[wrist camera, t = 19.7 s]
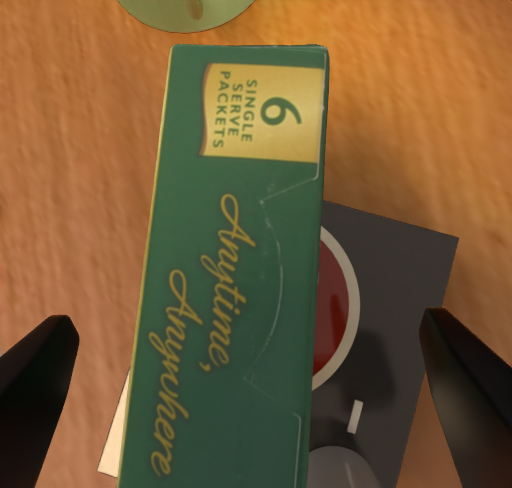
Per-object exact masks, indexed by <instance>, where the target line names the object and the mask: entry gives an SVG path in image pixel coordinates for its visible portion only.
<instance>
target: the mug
mask: <svg viewBox="0 0 512 488" xmlns="http://www.w3.org/2000/svg"><path fill="white" fill-rule="evenodd" d="M118 1H119V3H120V4H121V5H122V6H123V7H124V8H125V9H126V10H127V12H128V13H129V14H131V15H132V16H134V17H135V18H136V19H138V20H139V21H141V22H142V23H145V24H147V25H149V26H151V27H153V28H156V29H160V30H164V31H168V32H177V33H191V32H201V31H204V30H208V29H212V28H215V27H218V26H220V25H222V24H224V23H226V22H229V21H230V20H232V19H233V18H235V17H236V16H238V15H239V14H241V13H242V12H243V11H245V10H246V9H247V8H248V7H249V6H250V5H251V4H252V3H253V2H254V1H255V0H118Z"/></svg>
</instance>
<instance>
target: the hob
mask: <svg viewBox="0 0 512 488" xmlns="http://www.w3.org/2000/svg"><path fill="white" fill-rule="evenodd" d="M321 226H322V227H323V228H324V229H325V230H327V231H328V232H329V233H330V234H331V235H332V236H333V237H334V238H335V240H336V241H337V242H338V243H339V244H340V246H341V247H342V249H343V250H344V252H345V253H346V255H347V257H348V259H349V261H350V263H351V265H352V267H353V270H354V273H355V276H356V279H357V283H358V288H359V296H360V315H359V322H358V327H357V332H356V335H355V338H354V341H353V344H352V346H351V348H350V350H349V352H348V354H347V356H346V358H345V359H344V360H343V362H342V363H341V365H340V366H339V368H338V369H337V370H336V371H335V372H334V373H333V374H332V375H331V377H330V378H328V379H327V380H326V381H325V382H324V383H323V384H321V385H320V386H319V387H317V388H316V389H314V390H313V391H312V404H311V422H310V439H309V453H310V452H311V451H313V450H315V449H318V448H321V447H326V446H340V447H344V448H347V449H350V450H352V451H354V452H356V453H358V454H359V455H360V456H362V457H363V458H364V459H365V460H366V461H367V462H368V463H369V464H370V466H371V467H372V469H373V470H374V472H375V474H376V476H377V477H378V479H379V481H380V483H381V485H382V487H383V488H396V484H397V480H398V476H399V472H400V468H401V464H402V460H403V457H404V453H405V449H406V445H407V441H408V437H409V433H410V429H411V425H412V421H413V417H414V413H415V409H416V405H417V402H418V398H419V394H420V390H421V386H422V382H423V378H424V374H425V370H426V368H425V363H424V359H423V354H422V349H421V345H420V340H419V327H420V324H421V320H422V317H423V313H424V311H425V309H426V308H428V307H442V303H443V299H444V295H445V292H446V288H447V284H448V280H449V276H450V272H451V268H452V264H453V260H454V256H455V252H456V248H457V244H458V240H459V238H458V237H455V236H451V235H447V234H444V233H440V232H437V231H433V230H429V229H426V228H422V227H419V226H415V225H411V224H408V223H404V222H401V221H397V220H393V219H390V218H386V217H383V216H379V215H375V214H372V213H368V212H365V211H361V210H357V209H354V208H350V207H347V206H343V205H339V204H336V203H332V202H329V201H325V200H323V203H322V218H321ZM130 365H131V364H130ZM129 373H130V367H129V370H128V374H127V377H126V380H125V383H124V386H123V389H122V392H121V396H120V399H119V402H118V405H117V408H116V411H115V414H114V417H113V421H112V424H111V427H110V430H109V433H108V436H107V439H106V442H105V446H104V449H103V452H102V455H101V458H100V461H99V464H98V468H97V471H98V472H101V473H104V474H106V475H109V476H112V477H115V478H117V476H118V468H119V460H120V451H121V442H122V433H123V424H124V415H125V407H126V398H127V390H128V382H129Z"/></svg>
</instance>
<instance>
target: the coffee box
mask: <svg viewBox="0 0 512 488" xmlns="http://www.w3.org/2000/svg"><path fill="white" fill-rule="evenodd" d="M329 69H330V67H329V54H328V50H327V47H324V46H321V45H317V44H307V45H291V46H287V45H241V46H231V45H230V46H221V45H191V44H177V45H174V46H172V47H171V50H170V54H169V62H168V70H167V79H166V88H165V94H164V102H163V109H162V118H161V126H160V135H159V144H158V153H157V161H156V169H155V177H154V186H153V194H152V202H151V210H150V218H149V225H148V232H147V240H146V246H145V253H144V261H143V271H142V279H141V287H140V296H139V303H138V311H137V319H136V326H135V334H134V342H133V350H132V358H131V365H130V373H129V382H128V390H127V398H126V407H125V415H124V424H123V433H122V442H121V451H120V460H119V468H118V476H117V484H116V488H307V476H308V462H309V439H310V422H311V404H312V379H313V359H314V344H315V328H316V310H317V286H318V275H319V253H320V236H321V218H322V203H323V187H324V166H325V145H326V128H327V111H328V94H329Z"/></svg>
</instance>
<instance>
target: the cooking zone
mask: <svg viewBox="0 0 512 488" xmlns="http://www.w3.org/2000/svg"><path fill="white" fill-rule="evenodd" d="M359 315H360V296H359V288H358V283H357V279H356V276H355V273H354V270H353V267H352V265H351V263H350V261H349V259H348V257H347V255H346V253H345V252H344V250H343V249H342V247H341V246H340V244H339V243H338V242H337V241H336V240H335V238H334V237H333V236H332V235H331V234H330V233H329V232H328V231H327V230H325V229H324V228H323V227H322V226H321V236H320V253H319V275H318V286H317V310H316V328H315V344H314V359H313V379H312V391H313V390H314V389H316V388H317V387H319V386H320V385H321V384H323V383H324V382H325V381H326V380H327V379H328V378H330V377H331V375H332V374H333V373H334V372H335V371H336V370H337V369H338V368H339V366H340V365H341V363H342V362H343V360H344V359H345V358H346V356H347V354H348V352H349V350H350V348H351V346H352V344H353V341H354V338H355V335H356V332H357V327H358V322H359Z"/></svg>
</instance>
